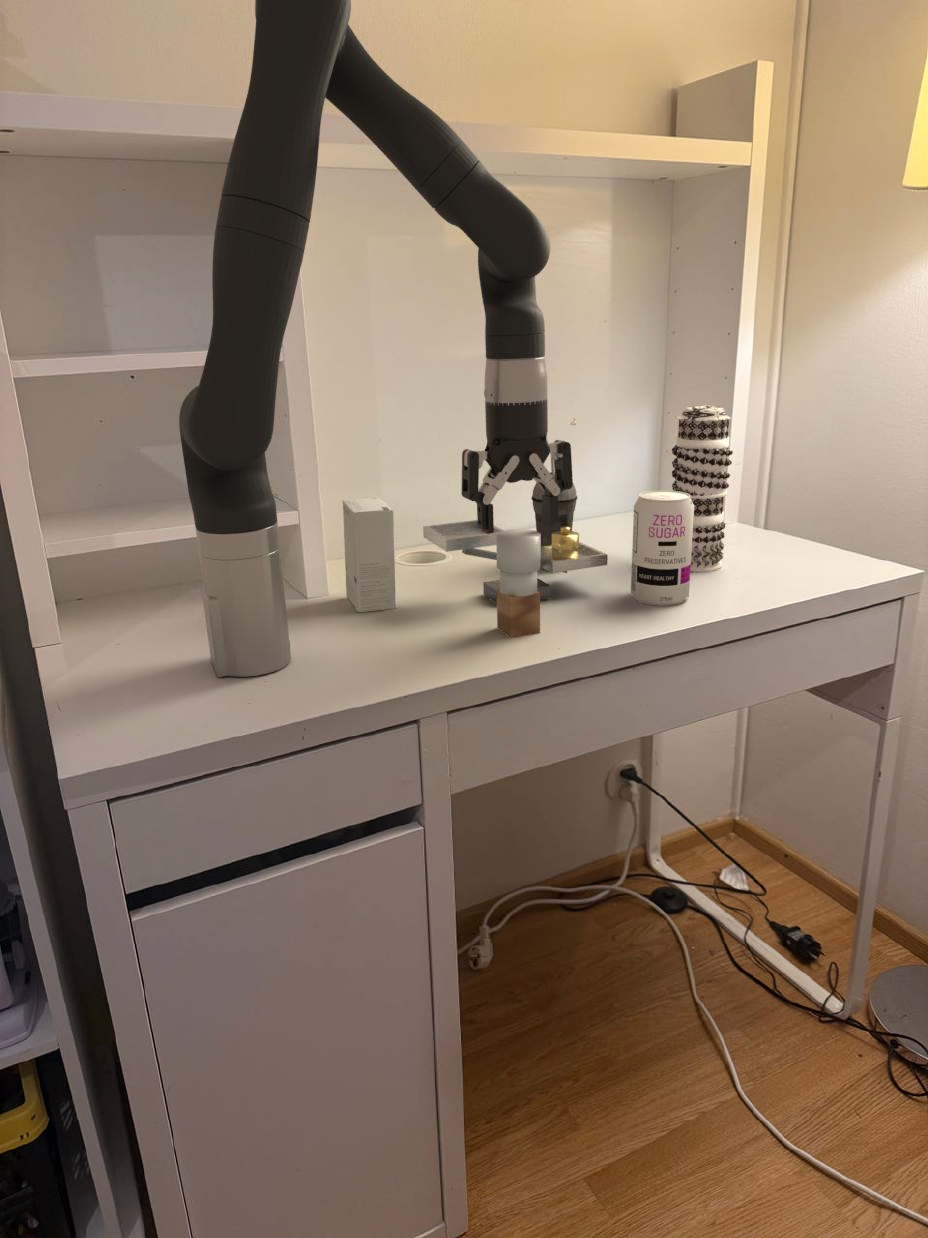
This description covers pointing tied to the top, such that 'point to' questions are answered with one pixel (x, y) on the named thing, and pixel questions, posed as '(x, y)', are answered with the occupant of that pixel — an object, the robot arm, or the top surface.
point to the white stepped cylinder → (518, 561)
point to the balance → (469, 536)
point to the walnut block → (518, 614)
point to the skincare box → (369, 554)
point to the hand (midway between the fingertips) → (518, 528)
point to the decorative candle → (704, 479)
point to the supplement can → (662, 547)
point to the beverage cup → (564, 511)
